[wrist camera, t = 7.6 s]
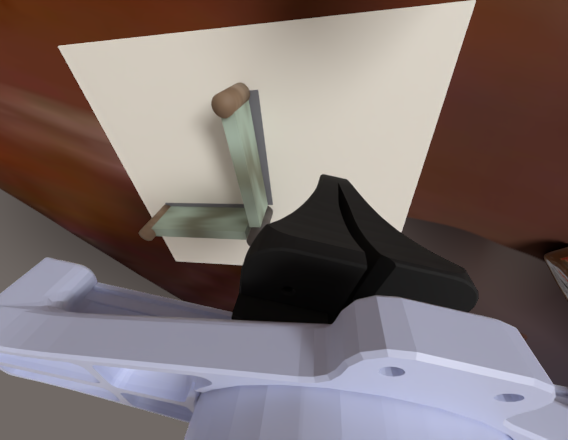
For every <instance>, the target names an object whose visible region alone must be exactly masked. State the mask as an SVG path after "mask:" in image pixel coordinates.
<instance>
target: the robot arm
mask: <svg viewBox="0 0 568 440" xmlns="http://www.w3.org/2000/svg"><path fill="white" fill-rule="evenodd" d="M477 301H478V290H477V289H476V287H475V286H474V284H473V282H472V280H471V279H470V277H469V275H468V273H467V272H466V270H465V269H464V268H462V267H460V266H458V265H456V264H454V263H452V262H450V261H448V260H446V259H444V258H442V257H440V256H438V255H436V254H434V253H433V252H431V251H429V250H427V249H426V248H424V247H422V246H421V245H419V244H417V243H416V242H414V241H413V240H411V239H409V238H408V237H407V236H405V235H404V234H402V233H401V232H399V231H398V230H397V229H395V228H394V227H393V226H392V225H390V224H389V223H388V222H387V221H386V220H384V219H383V218H382V217H381V216H380V215H379V214H378V213H377V212H376V211H375V210H374V209H373V208H372V207H371V206H370V205H369V204H368V203H367V202H366V201H365V199H364V198H363V197H362V196H361V195H360V194H359V192H358V191H357V190H356V189H355V188H354V186H353V185H352V184H351V183H350V182H349V181H348V180H347V179H343V178H339V177H335V176H330V175H326V174H322V175H320V178H319V181H318V185H317V187H316V189H315V191H314V192H313V193H312V195H311V196H310V197H309V198H308V199H307V201H306V202H305V203H303V204H302V205H301V206H300V207H299V208H298V209H296V210H295V211H294V212H292V213H291V214H289V215H287V216H286V217H284V218H282V219H280V220H278V221H275V222H272V223H269V224H266V225H265V226H264V227H263V228H262V230H261V231H260V232H259V234H258V235H257V236H256V238H255V239H254V241H253V242H252V244H251V246H250V247H249V249H248V251H247V253H246V256H245V259H244V262H243V266H242V269H241V278H240V289H239V295H238V298H237V301H236V304H235V307H234V310H233V312H229V311H224V310H220V309H215V308H211V307H206V306H202V305H197V304H193V303H189V302H184V301H179V300H175V299H170V298H166V297H162V296H157V295H152V294H148V293H144V292H139V291H135V290H130V289H126V288H121V287H117V286H113V285H108V284H104V283H99V282H97V279H96V276H95V274H94V273H93V272H92V270H91V269H89V268H88V267H86V266H84V265H81V264H77V263H73V262H68V261H64V260H59V259H55V258H50V257H49V258H45V259H43V260H42V261H41V262H40V263H38V264H37V265H36V266H35V267H33V268H32V269H31V270H29V271H28V272H27V273H26V274H24V275H23V276H22V277H21V278H19V279H18V280H17V281H16V282H14V283H13V284H12V285H11V286H9V287H8V288H7V289H6V290H4V291H3V292H2V293H0V370H2V371H4V372H6V373H7V374H9V375H13V376H17V377H21V378H25V379H30V380H34V381H38V382H43V383H47V384H51V385H55V386H59V387H62V388H66V389H70V390H74V391H78V392H81V393H85V394H89V395H92V396H96V397H100V398H103V399H107V400H110V401H114V402H117V403H121V404H124V405H128V406H131V407H135V408H139V409H142V410H145V411H149V412H153V413H156V414H160V415H163V416H167V417H171V418H174V419H177V420H181V421H184V422H188V423H189V426H188V429H187V432H186V435H185V438H184V440H568V387H563V386H559V385H554V384H553V383H552V382H551V380H550V378H549V377H548V376H547V374H546V373H545V371H544V369H543V368H542V366H541V365H540V363H539V362H538V360H537V359H536V357H535V356H534V354H533V353H532V351H531V350H530V348H529V347H528V345H527V344H526V342H525V340H524V339H523V337H522V336H521V334H520V333H519V331H518V330H517V328H515V327H513V326H511V325H508V324H506V323H504V322H502V321H500V320H497V319H494V318H491V317H486V316H481V315H477V314H473V313H469V311H470V310H471V309H472V308H473V307H474V306H475V305H476V303H477Z"/></svg>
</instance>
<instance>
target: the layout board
mask: <svg viewBox="0 0 568 440" xmlns="http://www.w3.org/2000/svg"><path fill="white" fill-rule="evenodd" d="M475 2H476V0H471V1H462V2H453V3H444V4H435V5H426V6H417V7H408V8H399V9H390V10H380V11H371V12H362V13H353V14H344V15H335V16H326V17H317V18H308V19H299V20H289V21H280V22H271V23H262V24H253V25H244V26H235V27H226V28H217V29H208V30H199V31H189V32H180V33H171V34H162V35H153V36H144V37H135V38H126V39H117V40H108V41H98V42H89V43H80V44H71V45H62V46H58V48H59V49H60V51H61V53H62V55H63V57H64V58H65V60H66V62H67V64H68V66H69V68H70V69H71V71H72V73H73V75H74V77H75V78H76V80H77V82H78V84H79V86H80V88H81V89H82V91H83V93H84V95H85V97H86V99H87V100H88V102H89V104H90V106H91V108H92V109H93V111H94V113H95V115H96V117H97V119H98V120H99V122H100V124H101V126H102V128H103V129H104V131H105V133H106V135H107V137H108V139H109V140H110V142H111V144H112V146H113V148H114V149H115V151H116V153H117V155H118V157H119V159H120V160H121V162H122V164H123V166H124V168H125V169H126V171H127V173H128V175H129V177H130V179H131V180H132V182H133V184H134V186H135V188H136V189H137V191H138V193H139V195H140V197H141V199H142V200H143V202H144V204H145V206H146V208H147V210H148V211H149V213H150V215H151V217H153V216H154V215H155V214H156V213H157V212H158V211H159V210H160V209H161V208H162V207H163V206H164V205H169V206H180V207H234V208H245V207H244V204H243V200H242V196H241V192H240V188H239V184H238V181H237V177H236V173H235V169H234V165H233V162H232V158H231V154H230V150H229V146H228V142H227V139H226V135H225V131H224V127H223V123H222V119H221V117H219V116H217V115H216V114H215V113H214V111H213V109H212V106H211V101H212V98H213V96H214V95H216V94H218V93H219V92H221V91H223V90H225V89H227V88H229V87H230V86H232V85H234V84H236V83H244V84H245V85H246V86H247V87H248V88H249V91H250V98H249V104H250V110H251V115H252V121H253V126H254V132H255V137H256V143H257V148H258V154H259V159H260V165H261V170H262V175H263V181H264V186H265V192H266V197H267V203H268V206H269V207H271V208H272V210H273V215H272V218H271V221H270V223H272V222H275V221H278V220H280V219H282V218H284V217H286V216H287V215H289V214H291V213H292V212H294V211H295V210H296V209H298V208H299V207H300V206H301V205H302V204H303V203H305V202H306V201H307V199H308V198H309V197H310V196H311V195H312V193H313V192H314V191H315V189H316V187H317V185H318V181H319V178H320V175H322V174H326V175H330V176H335V177H339V178H343V179H347V180H348V181H349V182H350V183H351V184H352V185H353V186H354V188H355V189H356V190H357V191H358V192H359V194H360V195H361V196H362V197H363V198H364V199H365V201H366V202H367V203H368V204H369V205H370V206H371V207H372V208H373V209H374V210H375V211H376V212H377V213H378V214H379V215H380V216H381V217H382V218H383V219H384V220H386V221H387V222H388V223H389V224H390V225H392V226H393V227H394V228H395V229H397V230H398V231H399V232H402V229H403V226H404V223H405V220H406V217H407V213H408V210H409V207H410V204H411V201H412V198H413V195H414V192H415V189H416V185H417V182H418V179H419V176H420V173H421V170H422V167H423V164H424V161H425V158H426V154H427V151H428V148H429V145H430V142H431V139H432V136H433V133H434V130H435V126H436V123H437V120H438V117H439V114H440V111H441V108H442V105H443V102H444V99H445V95H446V92H447V89H448V86H449V83H450V80H451V77H452V74H453V71H454V67H455V64H456V61H457V58H458V55H459V52H460V49H461V46H462V43H463V39H464V36H465V33H466V30H467V27H468V24H469V21H470V18H471V15H472V12H473V8H474V5H475ZM162 237H163V239H164V240H165V242H166V244H167V246H168V248H169V250H170V251H171V253H172V255H173V257H174V259H175V260H176V261H180V262H197V263H214V264H231V265H243V262H244V259H245V256H246V253H247V251H248V249H249V247H250V246H249V245H248V244H247V240H240V239H215V238H191V237H166V236H162Z"/></svg>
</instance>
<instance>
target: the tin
mask: <svg viewBox="0 0 568 440" xmlns="http://www.w3.org/2000/svg"><path fill="white" fill-rule="evenodd" d="M544 260H545V262H546V264H547V266H548V267H549V269H550V271H551V273H552V275H553V277H554V279H555V281H556V283H557V285H558V286H559V288H560V289H561V291H562V293H563V294H564V296H565V298H566V299H567V301H568V247H566V248H562V249H559V250H555V251H552V252H549V253H546V254H545V255H544Z"/></svg>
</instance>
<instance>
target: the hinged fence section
mask: <svg viewBox="0 0 568 440" xmlns="http://www.w3.org/2000/svg"><path fill="white" fill-rule="evenodd" d="M249 98H250V91H249V88H248V87H247V86H246V85H245V84H244V83H236V84H234V85H232V86H230V87H229V88H227V89H225V90H223V91H221V92H219V93H218V94H216V95H214V96H213V98H212V101H211V106H212V109H213V111H214V113H215V114H216V115H217V116H219V117H221V119H222V123H223V127H224V131H225V135H226V139H227V142H228V146H229V150H230V154H231V158H232V162H233V165H234V169H235V173H236V177H237V181H238V184H239V188H240V192H241V196H242V200H243V204H244V207H245V211H246V215H247V219H248V223H249V227H261V224H262V221H263V218H264V215H265V212H266V209H267V206H268V203H267V197H266V192H265V186H264V181H263V175H262V170H261V165H260V159H259V154H258V148H257V143H256V137H255V132H254V126H253V121H252V115H251V110H250V104H249Z"/></svg>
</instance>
